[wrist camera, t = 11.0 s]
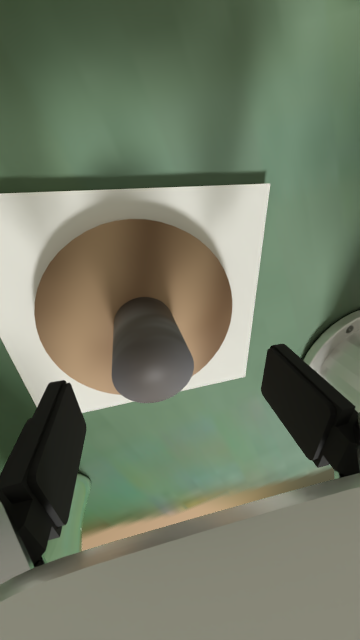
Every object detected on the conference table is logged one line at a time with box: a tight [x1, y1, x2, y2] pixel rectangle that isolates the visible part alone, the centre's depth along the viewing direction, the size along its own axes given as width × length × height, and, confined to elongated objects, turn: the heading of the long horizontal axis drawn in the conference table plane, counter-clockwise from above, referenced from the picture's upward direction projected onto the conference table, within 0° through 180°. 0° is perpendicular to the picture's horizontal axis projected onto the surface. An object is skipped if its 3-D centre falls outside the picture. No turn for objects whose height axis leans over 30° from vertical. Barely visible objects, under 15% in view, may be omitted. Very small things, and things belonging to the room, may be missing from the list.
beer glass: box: [43, 473, 91, 563], centre depth 17 cm, size 7×7×15 cm
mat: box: [0, 184, 270, 413], centre depth 16 cm, size 18×16×1 cm
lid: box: [34, 219, 232, 403], centre depth 13 cm, size 13×13×6 cm
